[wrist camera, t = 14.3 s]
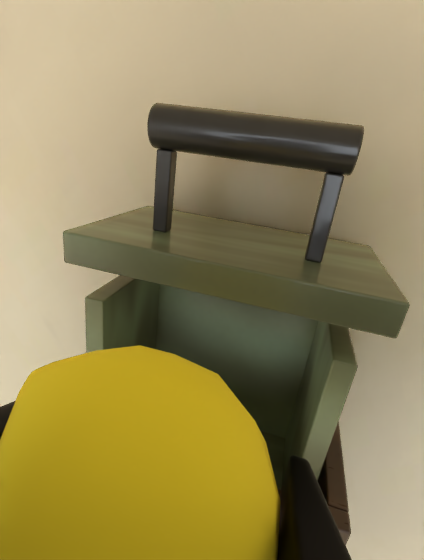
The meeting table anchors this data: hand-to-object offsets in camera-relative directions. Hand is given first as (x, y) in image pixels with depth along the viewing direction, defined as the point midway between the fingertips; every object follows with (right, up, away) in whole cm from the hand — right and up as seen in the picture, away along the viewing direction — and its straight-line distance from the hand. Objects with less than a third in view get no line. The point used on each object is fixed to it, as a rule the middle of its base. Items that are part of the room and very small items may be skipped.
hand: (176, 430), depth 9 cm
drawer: (+2, +3, +9) cm, 10 cm away
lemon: (0, 0, +1) cm, 1 cm away
